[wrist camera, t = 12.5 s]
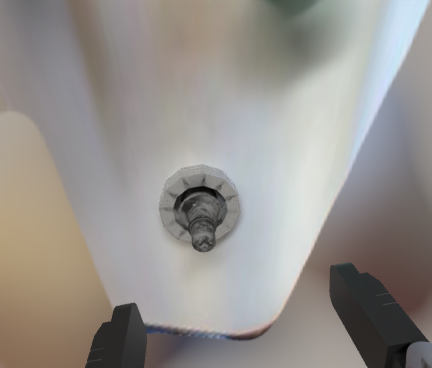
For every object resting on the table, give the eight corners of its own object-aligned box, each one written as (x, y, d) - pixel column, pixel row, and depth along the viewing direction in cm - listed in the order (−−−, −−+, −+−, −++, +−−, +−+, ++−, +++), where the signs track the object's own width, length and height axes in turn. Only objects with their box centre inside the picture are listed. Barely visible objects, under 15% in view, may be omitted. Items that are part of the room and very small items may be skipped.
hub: (153, 173, 42) (151, 182, 39) (231, 159, 42) (234, 167, 39) (172, 243, 47) (171, 255, 45) (240, 230, 48) (244, 242, 45)
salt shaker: (219, 215, 46) (230, 269, 35) (180, 217, 46) (180, 273, 35) (218, 180, 43) (231, 227, 33) (177, 183, 43) (176, 231, 32)
